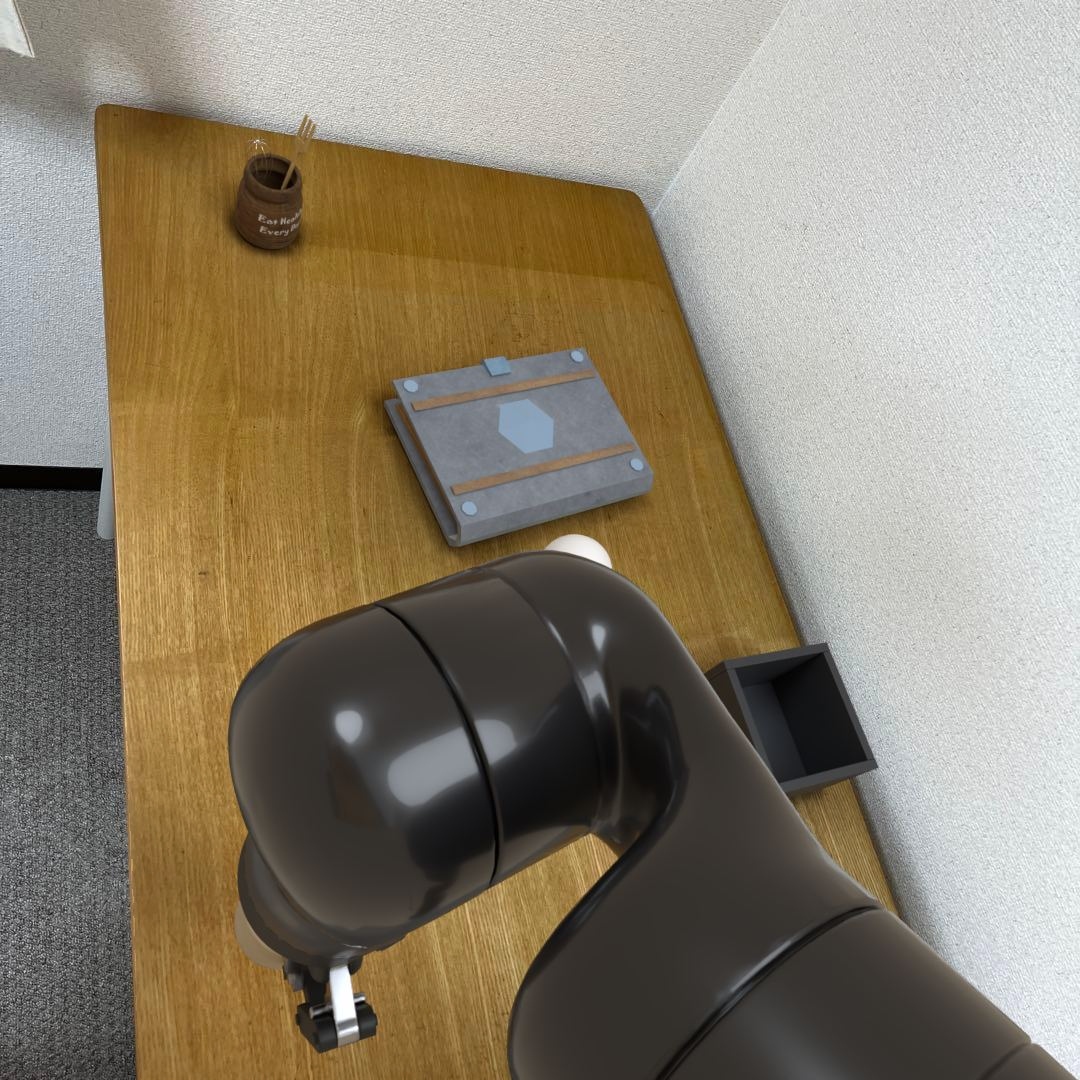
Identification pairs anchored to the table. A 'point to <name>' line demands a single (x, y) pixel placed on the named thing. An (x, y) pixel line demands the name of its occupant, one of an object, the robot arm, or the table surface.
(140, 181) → the table surface
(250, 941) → the candle
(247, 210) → the utensil holder
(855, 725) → the bin
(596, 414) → the book
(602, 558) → the lightbulb
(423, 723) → the robot arm
